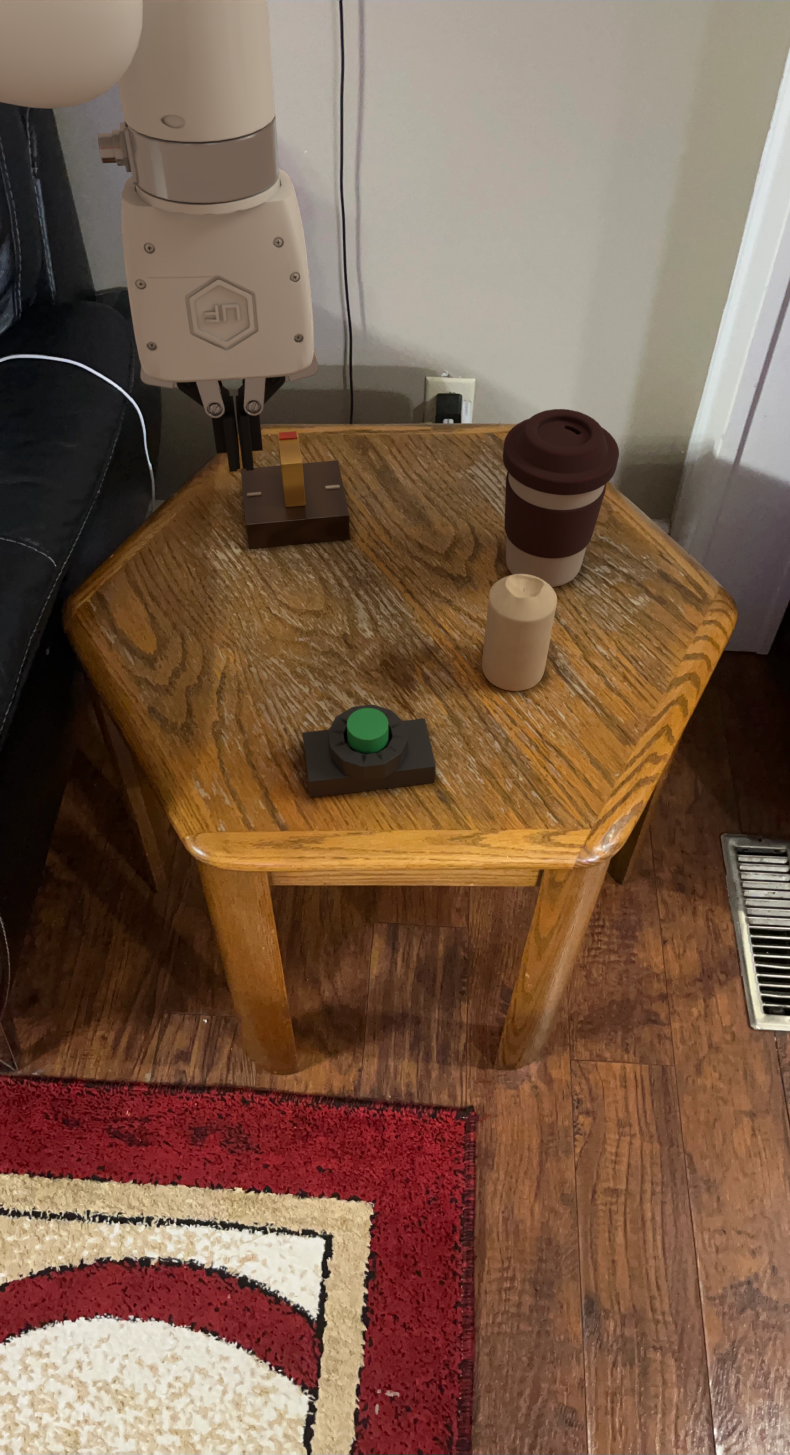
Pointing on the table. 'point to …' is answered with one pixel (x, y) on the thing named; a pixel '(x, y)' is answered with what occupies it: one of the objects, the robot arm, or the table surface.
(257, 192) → the robot arm
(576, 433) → the coffee cup
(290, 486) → the thumbturn
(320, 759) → the dark grey button housing
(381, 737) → the arm button
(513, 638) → the candle
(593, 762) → the table surface
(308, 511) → the plate
